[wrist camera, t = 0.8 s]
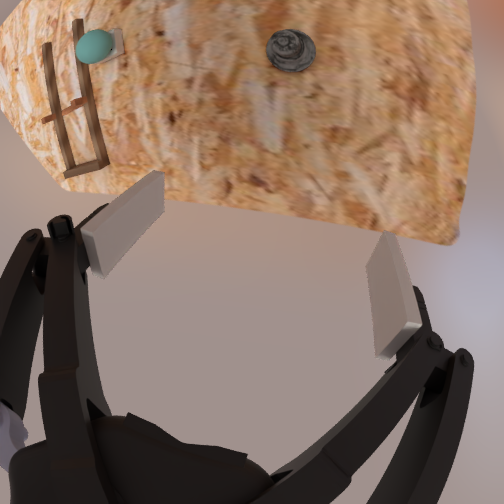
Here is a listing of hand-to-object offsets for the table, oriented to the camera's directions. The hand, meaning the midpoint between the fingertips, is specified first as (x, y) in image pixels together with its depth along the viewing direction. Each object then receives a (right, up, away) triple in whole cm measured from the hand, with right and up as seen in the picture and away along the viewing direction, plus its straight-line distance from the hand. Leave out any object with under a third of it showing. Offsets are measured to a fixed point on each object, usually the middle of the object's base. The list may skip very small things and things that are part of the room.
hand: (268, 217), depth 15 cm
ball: (-25, +29, +11) cm, 40 cm away
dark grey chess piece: (+4, +24, +13) cm, 27 cm away
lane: (-35, +27, +21) cm, 49 cm away
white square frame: (-24, +32, +15) cm, 42 cm away
